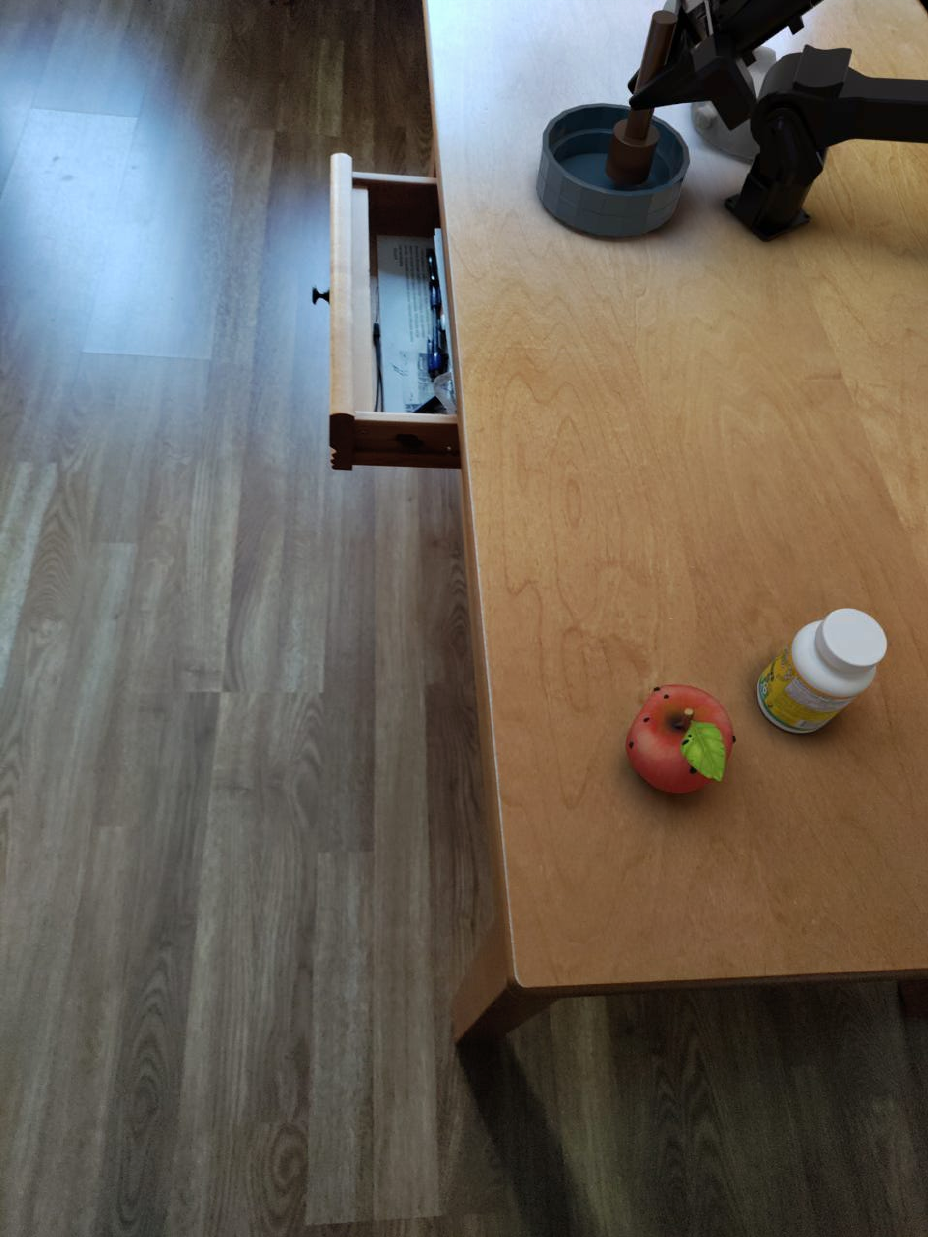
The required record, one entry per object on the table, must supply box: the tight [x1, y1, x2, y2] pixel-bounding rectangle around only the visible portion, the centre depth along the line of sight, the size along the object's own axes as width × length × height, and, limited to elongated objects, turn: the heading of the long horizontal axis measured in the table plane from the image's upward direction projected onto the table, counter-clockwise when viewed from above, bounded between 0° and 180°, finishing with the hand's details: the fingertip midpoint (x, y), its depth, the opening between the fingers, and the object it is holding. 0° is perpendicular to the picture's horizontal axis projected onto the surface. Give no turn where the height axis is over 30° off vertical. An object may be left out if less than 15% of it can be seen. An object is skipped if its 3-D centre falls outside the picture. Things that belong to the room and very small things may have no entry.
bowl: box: [535, 102, 691, 238], centre depth 84 cm, size 14×14×5 cm
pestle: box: [605, 9, 678, 186], centre depth 78 cm, size 4×4×14 cm
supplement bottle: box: [756, 608, 888, 734], centre depth 56 cm, size 5×5×10 cm
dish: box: [690, 45, 778, 161], centre depth 91 cm, size 14×14×5 cm
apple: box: [625, 683, 737, 794], centre depth 53 cm, size 8×7×10 cm
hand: (630, 97), depth 78 cm, fingers closed on pestle, 2 cm apart
